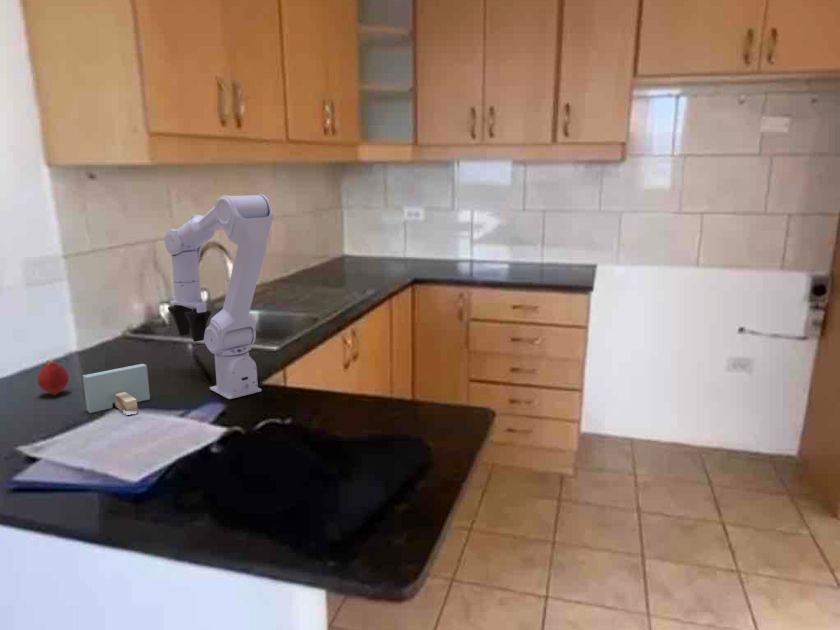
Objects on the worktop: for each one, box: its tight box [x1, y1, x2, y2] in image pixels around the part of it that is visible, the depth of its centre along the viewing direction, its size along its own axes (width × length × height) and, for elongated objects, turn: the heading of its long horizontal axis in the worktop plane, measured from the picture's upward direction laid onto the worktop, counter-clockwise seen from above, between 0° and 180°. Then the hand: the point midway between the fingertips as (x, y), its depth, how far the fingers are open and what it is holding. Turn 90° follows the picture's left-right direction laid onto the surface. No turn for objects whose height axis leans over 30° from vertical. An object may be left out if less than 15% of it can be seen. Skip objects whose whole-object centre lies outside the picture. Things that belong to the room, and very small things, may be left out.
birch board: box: [112, 392, 139, 411], centre depth 134 cm, size 16×2×3 cm, turn 43°
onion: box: [37, 359, 70, 396], centre depth 139 cm, size 6×6×8 cm
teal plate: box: [82, 363, 151, 414], centre depth 133 cm, size 2×12×8 cm, turn 133°
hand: (191, 337), depth 151 cm, fingers open, 7 cm apart
